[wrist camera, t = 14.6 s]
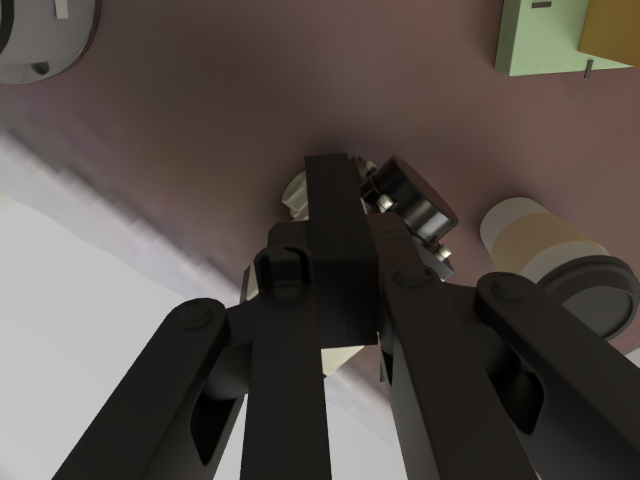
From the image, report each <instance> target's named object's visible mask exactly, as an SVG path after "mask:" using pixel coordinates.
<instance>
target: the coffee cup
mask: <svg viewBox="0 0 640 480" xmlns="http://www.w3.org/2000/svg"><path fill="white" fill-rule="evenodd" d="M480 236H481V239H482V241H483V243H484V245H485V247H486V248H487V250H488V252H489V254H490V256H491V257H492V261H493V264H494V266H495V268H496V270H497V271H498V272H509V273H515V274H518V275H521V276H524V277H526V278H528V279H529V280H531V281H532V282H534V283H535V284H537V285H538V286H539V287H540V288H542V289H543V290H544V291H545V292H546V293H548V294H549V295H550V296H551V297H553V298H554V299H555V300H556V301H558V302H559V303H560V304H561V305H562V306H564V307H565V308H566V309H567V310H569V311H570V312H571V313H572V314H573V315H575V316H576V317H577V318H578V319H580V320H581V321H582V322H583V323H584V324H586V325H587V326H588V327H589V328H591V329H592V330H593V331H594V332H596V333H597V334H598V335H599V336H600V337H602V338H603V339H604V340H605V341H609V340H611V339H613V338H615V337H616V336H618V335H619V334H620V333H622V332H623V331H624V330H625V329H626V328H627V327H628V326H629V325H630V323H631V322H632V321H633V319H634V317H635V315H636V312H637V307H638V305H639V302H640V283H639V281H638V279H637V278H636V277H635V275H634V273H633V271H632V269H631V268H630V266H629V265H628V264H627V263H625V262H624V261H622V260H620V259H618V258H616V257H612V256H611V255H609V253H608V252H607V251H606V250H605V249H604V248H603V247H602V246H600V245H599V244H597V243H596V242H595V241H593V240H592V239H590V238H589V237H587V236H586V235H584V234H583V233H581V232H580V231H579V230H577V229H576V228H574V227H573V226H571V225H570V224H568V223H567V222H565V221H564V220H563V219H561V218H560V217H558V216H556V215H554V214H552V213H551V212H549V211H548V210H547V209H545V208H544V207H542V206H541V205H540V204H538V203H537V202H535V201H534V200H532V199H529V198H525V197H515V198H510V199H507V200H504V201H502V202H500V203H498V204H496V205H495V206H494V207H493V208H491V209H490V210H489V211H488V213H487V214H486V215H485V217H484V218H483V220H482V223H481V226H480Z"/></svg>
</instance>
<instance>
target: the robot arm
mask: <svg viewBox="0 0 640 480" xmlns="http://www.w3.org/2000/svg"><path fill="white" fill-rule="evenodd" d="M100 8H101V0H0V84H26V83H33V82H39V81H42V80H45V79H48V78H51V77H53V76H55V75H57V74H60V73H62V72H64V71H66V70H67V69H69V68H70V67H72V66H73V65H74V64H75V63H77V62H78V61H79V60H80V59H81V58H82V57H83V55H84V54H85V53H86V51H87V50H88V48H89V47H90V45H91V43H92V41H93V39H94V36H95V34H96V31H97V27H98V23H99V18H100ZM304 158H305V172H306V186H307V200H308V214H309V220H302V221H290V222H278V223H276V224H275V225H274V226H273V227H272V228H271V230H270V231H269V233H268V245H267V248H265V249H263V250H262V251H260V252H259V253H258V254H257V255H256V257H255V259H254V261H253V262H254V268H255V274H256V280H257V285H258V294H257V295H256V296H255V297H253V298H252V299H250V300H248V301H247V302H244V303H242V304H239V305H236V306H233V307H230V308H227V309H225V306H224V304H222V303H221V302H219V301H218V300H215V299H211V298H196V299H193V300H189V301H186V302H184V303H182V304H180V305H179V306H177V307H175V308H174V309H173V310H172V311H171V312H170V313H169V314H168V315H167V316H166V318H165V319H164V321H163V322H162V324H161V325H160V326H159V328H158V329H157V331H156V332H155V333H154V335H153V336H152V338H151V339H150V340H149V342H148V343H147V345H146V346H145V348H144V349H143V350H142V352H141V353H140V355H139V356H138V357H137V359H136V360H135V362H134V363H133V365H132V366H131V367H130V369H129V370H128V372H127V373H126V375H125V376H124V377H123V379H122V380H121V382H120V383H119V385H118V386H117V387H116V389H115V390H114V392H113V393H112V394H111V396H110V397H109V399H108V400H107V402H106V403H105V404H104V406H103V407H102V409H101V410H100V412H99V413H98V414H97V416H96V417H95V418H94V420H93V421H92V423H91V424H90V426H89V427H88V428H87V430H86V431H85V433H84V434H83V436H82V437H81V438H80V440H79V441H78V443H77V444H76V446H75V447H74V448H73V450H72V451H71V453H70V454H69V455H68V457H67V458H66V460H65V461H64V463H63V464H62V465H61V467H60V468H59V470H58V471H57V472H56V474H55V475H54V477H53V478H52V480H213V478H214V476H215V473H216V470H217V468H218V465H219V463H220V460H221V458H222V455H223V452H224V450H225V447H226V445H227V442H228V440H229V437H230V434H231V432H232V429H233V427H234V424H235V422H236V419H237V416H238V414H239V411H240V409H241V406H242V404H243V401H244V395H245V394H247V393H248V400H247V411H246V421H245V431H244V441H243V450H242V460H241V471H240V480H332V474H331V462H330V452H329V438H328V426H327V414H326V402H325V390H324V378H323V366H322V354H321V349H331V348H343V347H354V346H366V345H378V335H379V339H380V343H381V369H380V382H383V381H385V382H386V386H387V390H388V395H389V399H390V404H391V408H392V412H393V417H394V421H395V426H396V430H397V434H398V439H399V443H400V447H401V452H402V456H403V460H404V464H405V469H406V473H407V478H408V480H539V479H538V477H537V475H536V473H535V471H536V472H537V473H538V475H539V476H540V477H541V479H542V480H640V368H638V367H637V366H636V365H635V364H633V363H632V362H631V361H630V360H629V359H627V358H626V357H625V356H624V355H622V354H621V353H620V352H619V351H618V350H616V349H615V348H614V347H613V346H611V345H610V344H609V343H608V342H607V341H605V340H604V339H603V338H602V337H600V336H599V335H598V334H597V333H596V332H594V331H593V330H592V329H591V328H589V327H588V326H587V325H586V324H584V323H583V322H582V321H581V320H580V319H578V318H577V317H576V316H575V315H573V314H572V313H571V312H570V311H569V310H567V309H566V308H565V307H564V306H562V305H561V304H560V303H559V302H558V301H556V300H555V299H554V298H553V297H551V296H550V295H549V294H548V293H546V292H545V291H544V290H543V289H542V288H540V287H539V286H538V285H537V284H535V283H534V282H532V281H531V280H529V279H528V278H526V277H524V276H521V275H518V274H515V273H509V272H492V273H488V274H486V275H484V276H482V277H481V278H480V279H479V280H478V282H477V286H476V287H469V286H461V285H455V284H450V283H447V282H444V281H442V280H441V278H440V276H439V275H438V274H437V272H436V271H435V270H434V269H432V268H431V267H429V266H427V265H425V264H423V262H422V259H421V257H420V255H419V253H418V251H417V249H416V246H415V244H414V242H413V240H412V239H411V235H410V233H409V231H408V229H407V227H406V225H405V222H404V220H403V219H402V218H400V217H399V216H397V215H396V214H395V213H393V212H387V213H374V214H365V211H364V207H363V204H362V201H361V198H360V194H359V191H358V188H357V185H356V182H355V178H354V175H353V172H352V169H351V166H350V162H349V159H348V156H347V153H343V154H330V155H317V156H304ZM533 468H534V469H535V471H534V469H533Z"/></svg>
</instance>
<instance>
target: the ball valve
mask: <svg viewBox="0 0 640 480" xmlns="http://www.w3.org/2000/svg"><path fill="white" fill-rule="evenodd" d="M349 162H350V166H351V169H352V172H353V175H354V178H355V182H356V185H357V188H358V191H359V194H360V198H361V201H362V204H363V207H364V211H365V214H374V213H387V212H393V213H395V214H396V215H397V216H399V217H400V218H402V219H403V220H404V222H405V225H406V227H407V229H408V231H409V233H410V235H411V239H412V240H413V242H414V244H415V246H416V249H417V251H418V253H419V255H420V257H421V259H422V262H423V264H425V265H427V266H429V267H431V268H432V269H434V270H435V271H436V272H437V274H438V275H439V276H440V278H441V280H442V281H445V280H446V279H448V278H449V277H450V276H451V275H453V274H454V273H455V271H454V269H453V268H452V266H451V264H450V262H449V260H448V259H447V257H448V256H449V255H450V254H451V251H450V250H449V248H448V247H447V246H446V245H444V244H442V245H441V246H440V244H439V242H438V241H439V240H440V239H441V238H442V237H444V236H445V235H446V234H447V233H448V232H449V231H451V230H452V229H453V228H454V227H455V226H456V225H458V223H459V221H458V218H457V216H456V215H455V213H454V212H453V211H452V209H451V208H450V207H449V206H448V204H447V203H446V202H445V201H444V200H443V198H442V197H441V196H440V195H439V194H438V193H437V192H436V191H435V190H434V189H433V188H432V187H431V186H430V184H429V183H428V182H427V181H426V180H425V179H424V178H423V177H421V176H420V175H419V174H418V173H417V172H416V171H415V170H414V169H413V168H412V167H411V166H409V165H408V164H407V163H406V162H405V161H403V160H402V159H401V158H399V157H397V156H395V155H393V156H391V157H390V158H389V159H388V160H387V161H386V162H385V163H384V164H383V165H382V166H381V167H380V168H379V169H378V170H377V171H376V169H377V166H376V165H375V164H374V163H373V162H372V161H368V162H366V161H365V160H364V159H363V158H362V157H360V156H359V157H358V158H355V157H353V158H352V159H351V160H350V161H349ZM282 202H283V203H284V204H285V205H287V206H288V207H289V208H291V209H290V214H291V215H292V216H293V217H294V219H293V220H292V221H302V220H309V214H308V200H307V186H306V172H305V171H302V172H300V173H299V174H298V175H297V176H296V177H295V178H294V179H293V180H292V181H291V182H290V184H289V185H288V187H287V188H286V190H285V192H284V194H283V197H282ZM257 294H258V285H257V280H256V274H255V268H254V262H253V263H252V264H251V265H250V266H249V267H248V268H247V269H246V270H245V271H244V277H243V284H242V290H241V296H240V303H239V304H242V303H244V302H247V301H248V300H250V299H252V298H253V297H255V296H256V295H257ZM363 347H364V346H354V347H343V348H331V349H321V354H322V366H323V378H326V377H327V376H328V375H329V374H331V373H332V372H333V371H334V370H336V369H337V368H338V367H339V366H341V365H342V364H343V363H344V362H345V361H347V360H348V359H349V358H350V357H352V356H353V355H354V354H355V353H357V352H358V351H359V350H360V349H361V348H363Z"/></svg>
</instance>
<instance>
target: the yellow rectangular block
mask: <svg viewBox="0 0 640 480" xmlns="http://www.w3.org/2000/svg"><path fill="white" fill-rule="evenodd" d="M578 52H581V53H585V54H589V55H592V56H596V57H600V58H604V59H607V60H611V61H615V62H619V63H623V64H626V65H630V66H634V67H638V68H640V0H590V1H589V5H588V9H587V14H586V18H585V22H584V26H583V31H582V35H581V39H580V43H579V48H578Z"/></svg>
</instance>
